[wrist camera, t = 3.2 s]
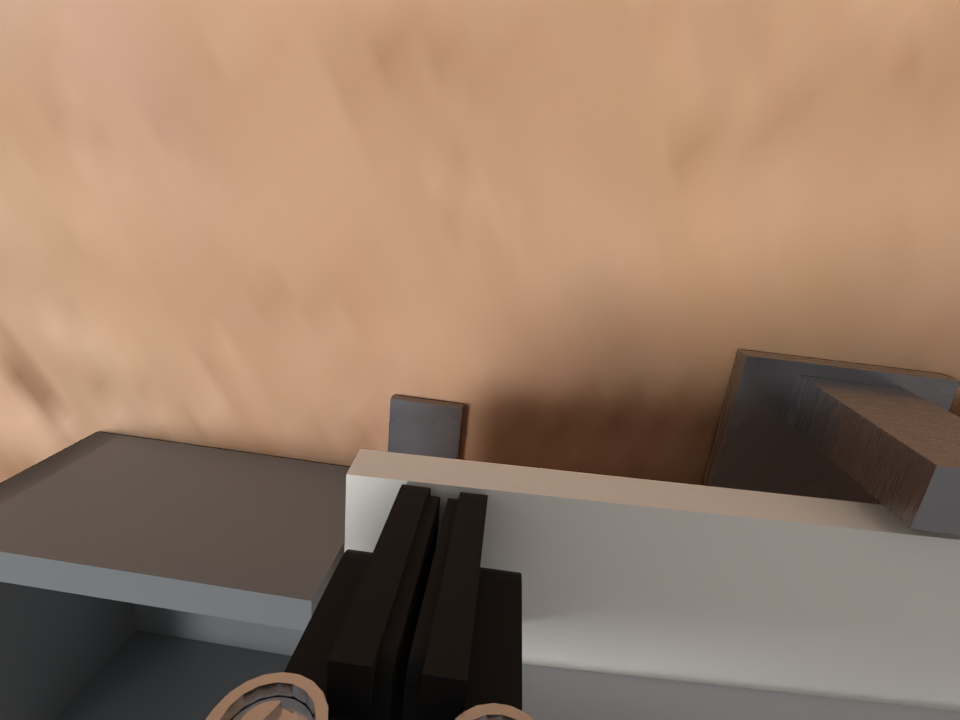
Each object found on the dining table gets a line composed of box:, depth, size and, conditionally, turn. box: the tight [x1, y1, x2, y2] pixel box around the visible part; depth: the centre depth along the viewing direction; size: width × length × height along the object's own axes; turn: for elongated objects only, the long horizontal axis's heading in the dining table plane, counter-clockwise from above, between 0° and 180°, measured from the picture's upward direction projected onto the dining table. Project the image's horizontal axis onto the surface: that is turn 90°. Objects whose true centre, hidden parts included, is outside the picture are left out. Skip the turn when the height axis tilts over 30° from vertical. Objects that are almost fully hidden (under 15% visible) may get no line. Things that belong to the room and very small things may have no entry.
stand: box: [388, 349, 960, 535], centre depth 13 cm, size 23×14×5 cm, turn 84°
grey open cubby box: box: [0, 432, 350, 720], centre depth 14 cm, size 9×8×5 cm
